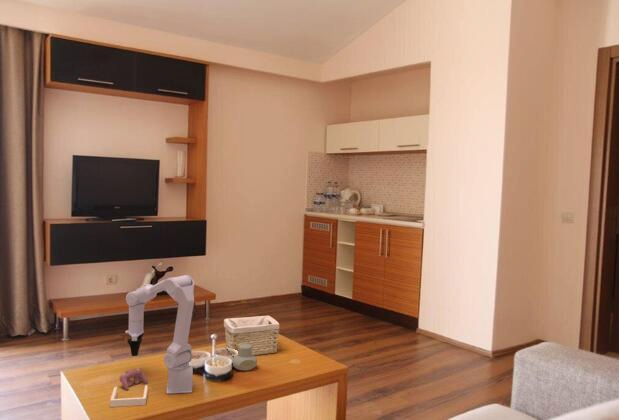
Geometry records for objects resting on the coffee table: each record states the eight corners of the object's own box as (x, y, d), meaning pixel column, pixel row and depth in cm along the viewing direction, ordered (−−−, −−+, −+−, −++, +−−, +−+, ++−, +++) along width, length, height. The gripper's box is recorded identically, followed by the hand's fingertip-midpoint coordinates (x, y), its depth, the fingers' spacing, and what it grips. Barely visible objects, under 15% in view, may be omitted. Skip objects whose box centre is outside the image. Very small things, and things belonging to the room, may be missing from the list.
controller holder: (147, 391, 200) (147, 385, 199) (145, 404, 188) (145, 398, 188) (114, 393, 197) (114, 386, 197) (110, 407, 185) (110, 400, 185)
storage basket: (230, 359, 238) (231, 327, 237) (221, 348, 253) (222, 317, 252) (279, 354, 247) (281, 323, 246) (269, 343, 262) (270, 314, 261)
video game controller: (143, 385, 209) (139, 367, 211) (149, 382, 206) (145, 365, 208) (120, 392, 201) (116, 374, 203) (126, 390, 199) (122, 371, 200)
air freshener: (234, 373, 221) (235, 350, 221) (229, 366, 229) (230, 344, 228) (259, 370, 226) (260, 347, 225) (253, 363, 233) (254, 341, 233)
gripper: (127, 315, 219) (127, 347, 220) (123, 325, 205) (123, 359, 206) (145, 315, 221) (144, 346, 222) (142, 324, 207) (142, 358, 208)
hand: (135, 352), depth 214 cm, fingers open, 6 cm apart
